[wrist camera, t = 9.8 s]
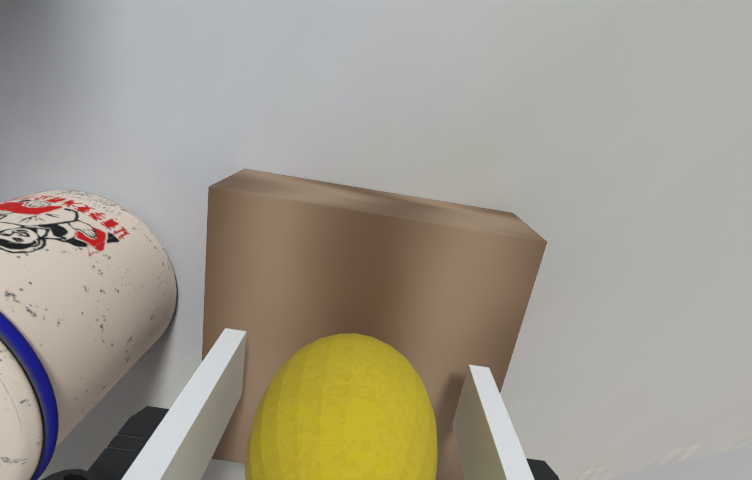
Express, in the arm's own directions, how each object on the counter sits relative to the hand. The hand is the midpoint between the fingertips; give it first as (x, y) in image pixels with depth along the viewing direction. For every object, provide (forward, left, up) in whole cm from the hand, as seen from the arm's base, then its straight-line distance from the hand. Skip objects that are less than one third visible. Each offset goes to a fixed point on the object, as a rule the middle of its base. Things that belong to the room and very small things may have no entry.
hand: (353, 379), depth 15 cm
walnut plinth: (0, 0, -5) cm, 5 cm away
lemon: (0, 0, -1) cm, 1 cm away
